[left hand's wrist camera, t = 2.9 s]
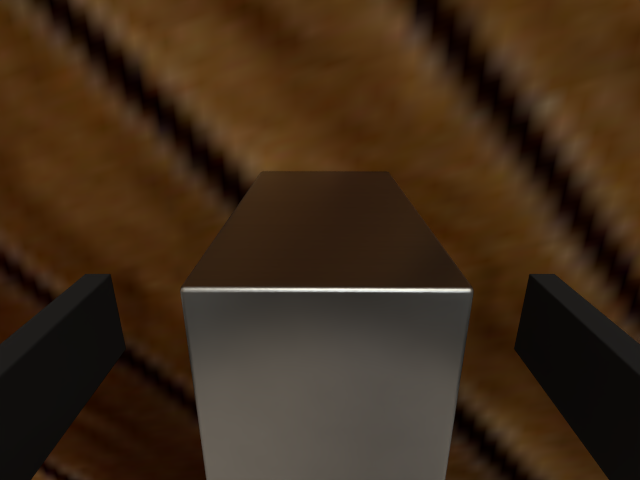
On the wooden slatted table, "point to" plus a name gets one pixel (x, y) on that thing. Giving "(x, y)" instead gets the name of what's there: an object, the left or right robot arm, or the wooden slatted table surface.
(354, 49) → the wooden slatted table surface
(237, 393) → the bar
